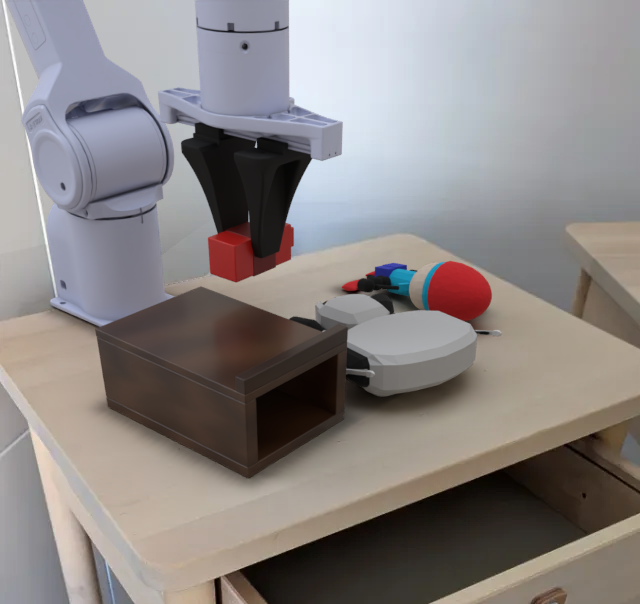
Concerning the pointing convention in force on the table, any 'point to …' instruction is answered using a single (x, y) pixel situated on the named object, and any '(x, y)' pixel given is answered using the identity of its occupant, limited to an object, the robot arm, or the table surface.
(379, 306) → the robot toy
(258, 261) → the red block
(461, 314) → the toy figure
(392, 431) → the table surface
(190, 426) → the shelf
